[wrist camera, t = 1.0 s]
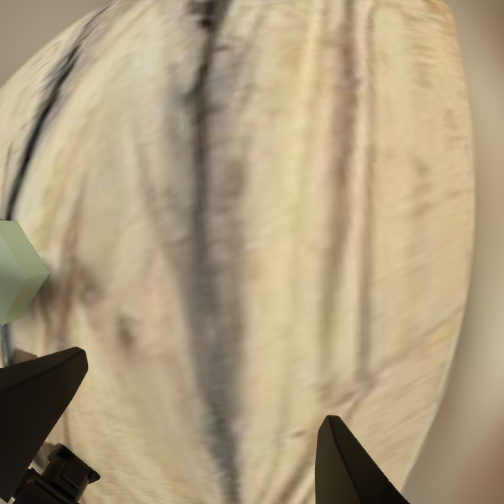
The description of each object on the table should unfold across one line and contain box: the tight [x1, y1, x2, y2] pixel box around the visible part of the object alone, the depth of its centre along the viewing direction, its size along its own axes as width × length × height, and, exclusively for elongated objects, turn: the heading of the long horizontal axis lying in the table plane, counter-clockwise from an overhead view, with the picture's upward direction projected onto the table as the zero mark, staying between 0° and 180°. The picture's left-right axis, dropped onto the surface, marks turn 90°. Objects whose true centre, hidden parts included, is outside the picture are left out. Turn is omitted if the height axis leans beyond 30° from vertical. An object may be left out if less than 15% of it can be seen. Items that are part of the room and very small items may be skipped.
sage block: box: [0, 220, 50, 326], centre depth 19 cm, size 7×7×4 cm
